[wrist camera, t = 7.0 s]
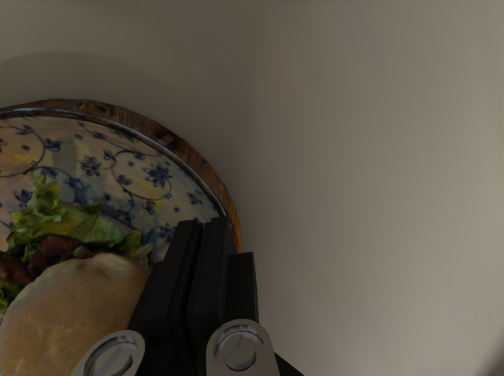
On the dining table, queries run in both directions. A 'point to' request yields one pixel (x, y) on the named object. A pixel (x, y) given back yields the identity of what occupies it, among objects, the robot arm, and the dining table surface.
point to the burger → (87, 223)
